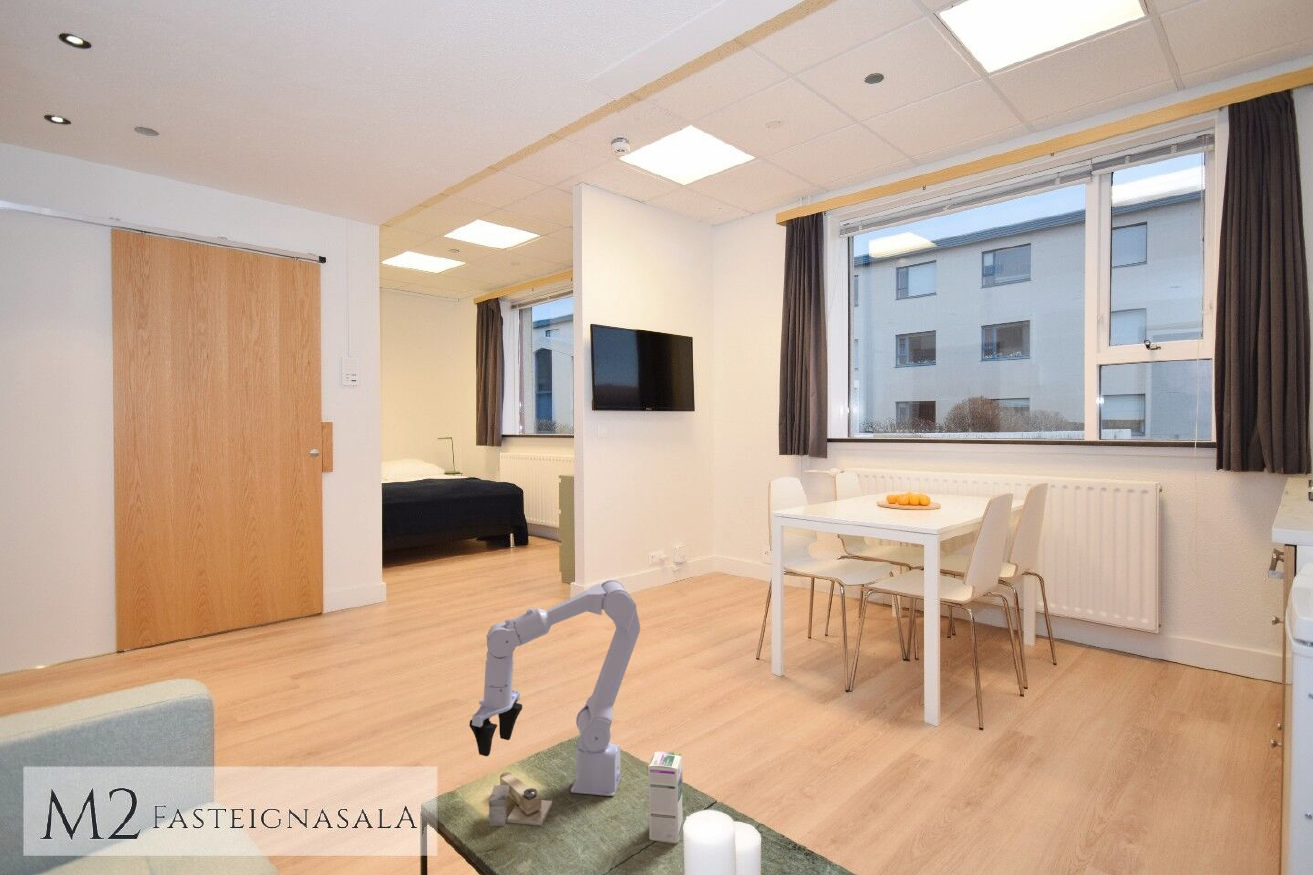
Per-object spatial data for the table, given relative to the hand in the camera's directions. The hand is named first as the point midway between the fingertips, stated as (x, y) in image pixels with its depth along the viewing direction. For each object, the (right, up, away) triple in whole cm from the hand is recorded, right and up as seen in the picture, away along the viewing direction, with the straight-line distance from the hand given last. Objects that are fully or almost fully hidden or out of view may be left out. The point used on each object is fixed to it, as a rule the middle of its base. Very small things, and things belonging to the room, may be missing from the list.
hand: (494, 746), depth 136 cm
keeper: (+2, -11, -6) cm, 13 cm away
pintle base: (+8, -11, -5) cm, 15 cm away
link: (+5, -10, -1) cm, 11 cm away
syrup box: (+36, -12, -11) cm, 39 cm away
